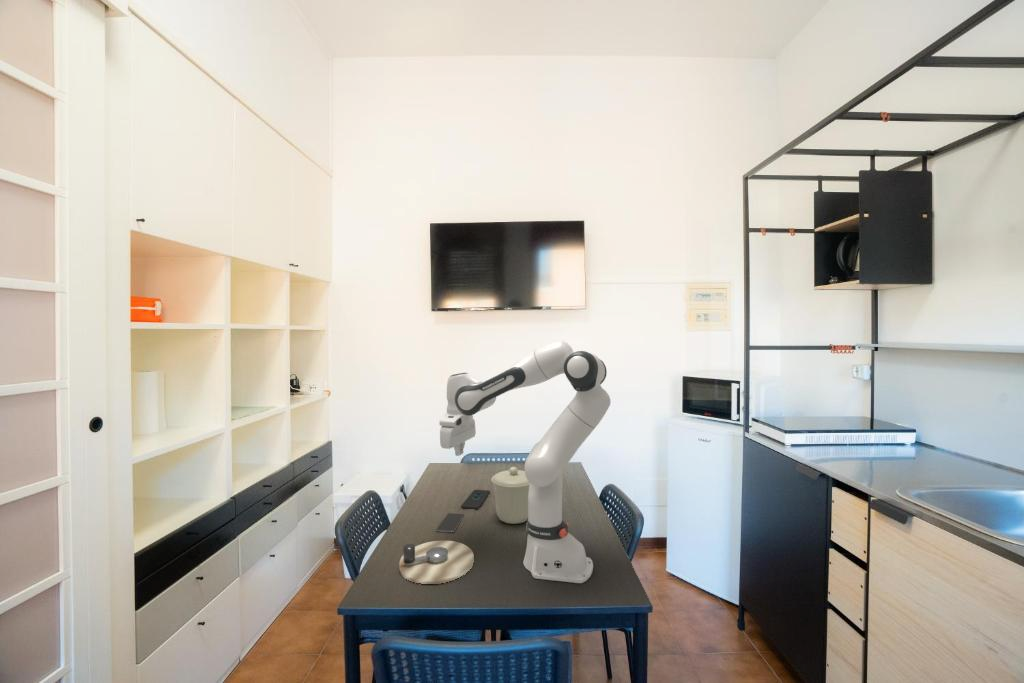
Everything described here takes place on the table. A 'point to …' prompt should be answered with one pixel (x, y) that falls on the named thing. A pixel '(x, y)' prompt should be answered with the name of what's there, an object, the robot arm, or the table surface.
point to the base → (439, 564)
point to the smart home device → (475, 499)
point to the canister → (511, 495)
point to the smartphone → (450, 522)
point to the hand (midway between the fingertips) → (459, 454)
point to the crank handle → (432, 556)
